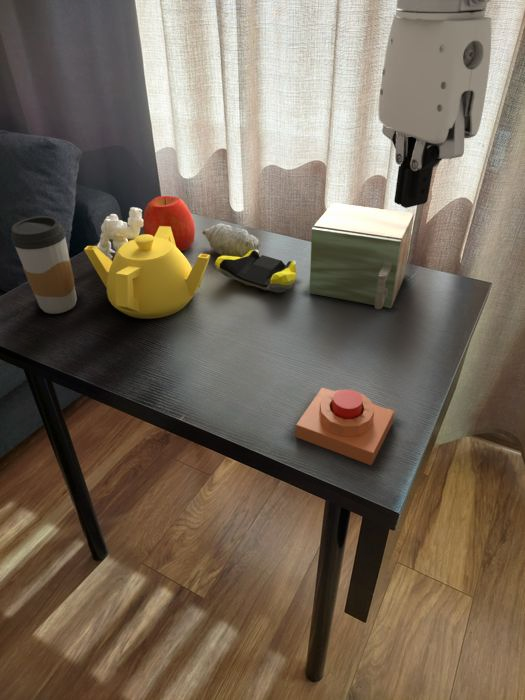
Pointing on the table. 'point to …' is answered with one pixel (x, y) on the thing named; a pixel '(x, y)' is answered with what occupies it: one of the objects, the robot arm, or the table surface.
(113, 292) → the teapot
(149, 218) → the apple
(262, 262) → the black and yellow shoe
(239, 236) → the seashell
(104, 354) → the table surface
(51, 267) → the coffee cup
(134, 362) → the table surface
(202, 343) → the table surface
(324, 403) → the button block
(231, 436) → the table surface
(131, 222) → the figurine
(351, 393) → the button
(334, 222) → the cupboard
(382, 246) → the door
